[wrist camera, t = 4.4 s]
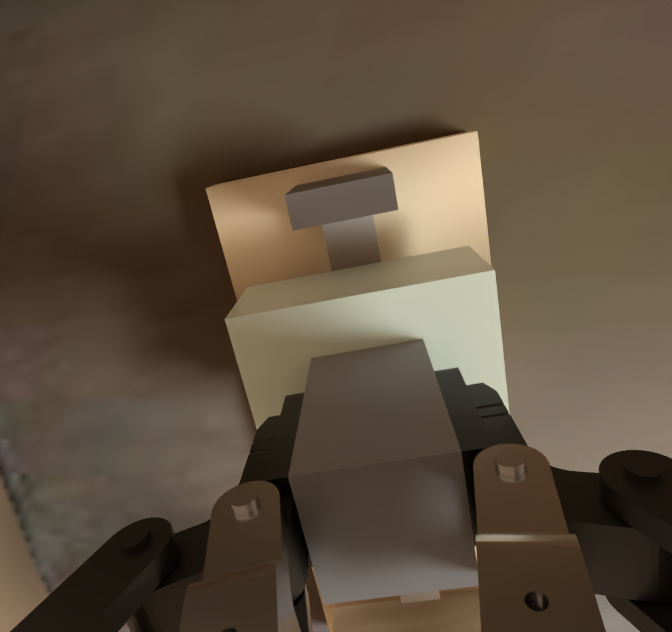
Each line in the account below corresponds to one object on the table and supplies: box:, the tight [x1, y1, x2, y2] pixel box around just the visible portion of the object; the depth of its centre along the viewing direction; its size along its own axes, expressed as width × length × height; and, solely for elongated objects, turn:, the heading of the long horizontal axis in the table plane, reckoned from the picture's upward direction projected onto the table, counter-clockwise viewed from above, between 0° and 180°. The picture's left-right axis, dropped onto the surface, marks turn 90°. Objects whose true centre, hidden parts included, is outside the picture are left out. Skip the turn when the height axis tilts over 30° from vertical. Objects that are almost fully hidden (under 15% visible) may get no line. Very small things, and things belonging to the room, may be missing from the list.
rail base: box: [206, 131, 491, 632], centre depth 17 cm, size 22×9×10 cm, turn 11°
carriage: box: [225, 246, 509, 605], centre depth 13 cm, size 6×7×8 cm
